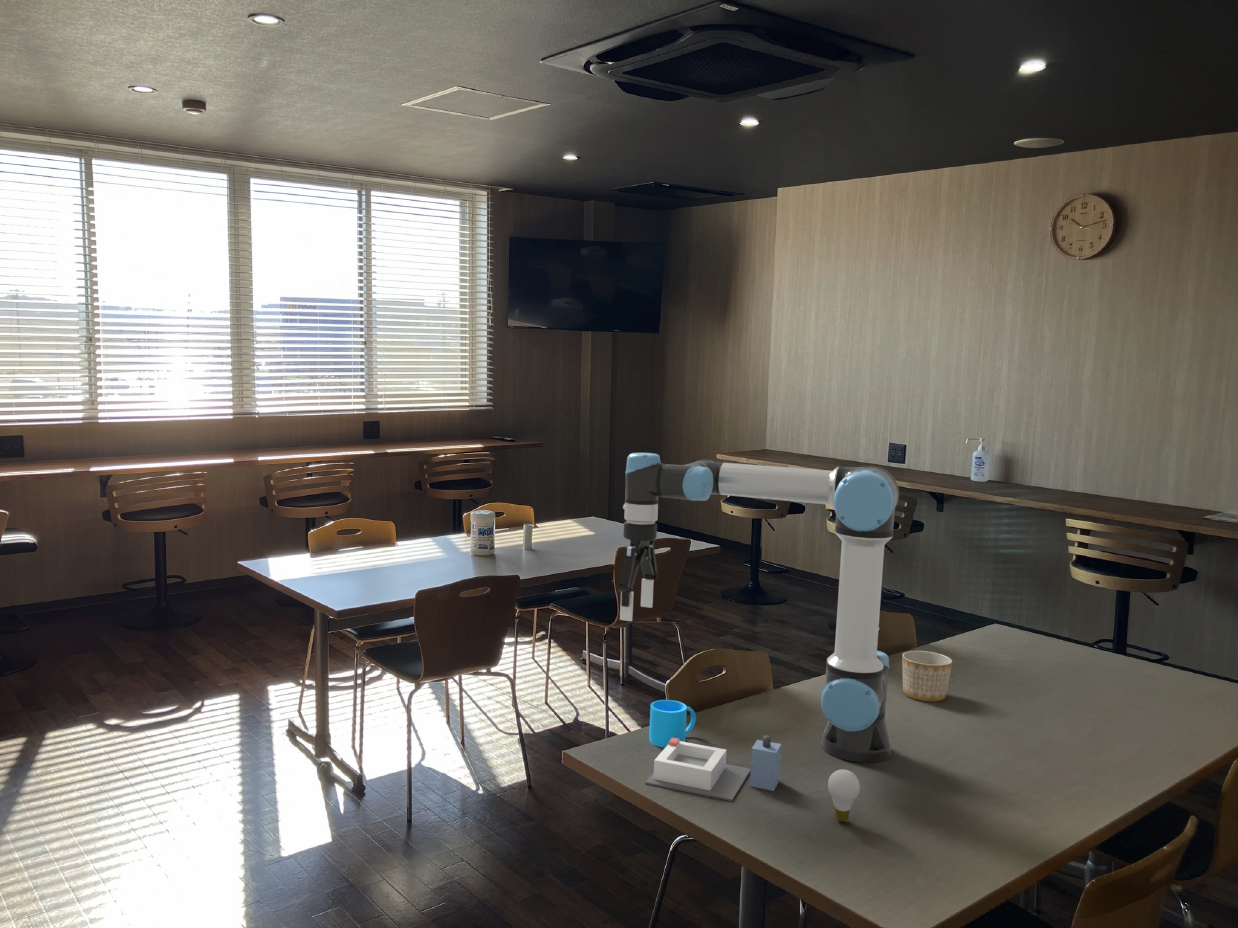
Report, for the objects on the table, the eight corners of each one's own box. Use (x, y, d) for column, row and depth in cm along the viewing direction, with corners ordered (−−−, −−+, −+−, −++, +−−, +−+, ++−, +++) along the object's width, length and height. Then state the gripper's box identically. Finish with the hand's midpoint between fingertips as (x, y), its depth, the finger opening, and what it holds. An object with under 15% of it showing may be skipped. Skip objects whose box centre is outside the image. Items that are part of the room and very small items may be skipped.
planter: (954, 694, 256) (957, 656, 255) (942, 707, 245) (945, 668, 244) (907, 684, 263) (909, 647, 262) (893, 696, 252) (896, 658, 251)
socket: (750, 770, 202) (752, 746, 201) (731, 801, 187) (733, 775, 186) (670, 754, 208) (671, 731, 208) (645, 783, 193) (646, 758, 193)
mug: (663, 750, 210) (665, 714, 210) (642, 738, 217) (643, 703, 216) (705, 740, 217) (707, 705, 216) (683, 728, 224) (685, 694, 223)
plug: (778, 781, 197) (781, 734, 196) (773, 790, 192) (776, 743, 191) (755, 776, 199) (757, 730, 198) (749, 786, 194) (752, 738, 193)
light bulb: (821, 814, 183) (824, 763, 182) (851, 814, 184) (854, 764, 183) (831, 828, 177) (834, 777, 176) (861, 828, 178) (865, 777, 177)
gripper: (643, 512, 228) (639, 599, 231) (604, 527, 205) (600, 623, 207) (673, 515, 226) (669, 603, 228) (637, 530, 203) (633, 628, 205)
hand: (636, 613), depth 218 cm, fingers open, 13 cm apart
